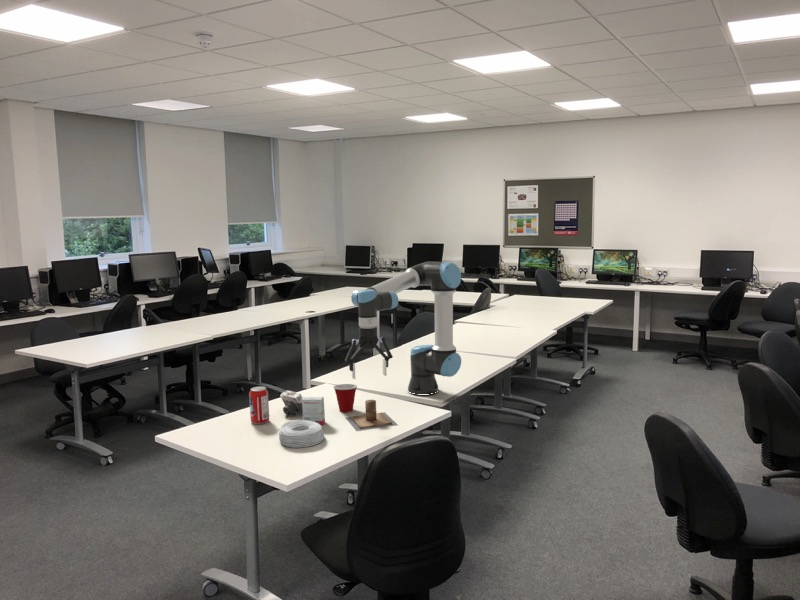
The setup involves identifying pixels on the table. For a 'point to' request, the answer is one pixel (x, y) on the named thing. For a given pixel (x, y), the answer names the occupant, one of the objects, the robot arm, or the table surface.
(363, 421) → the lid
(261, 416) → the soda can
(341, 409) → the plastic cup
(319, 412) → the ink box
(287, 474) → the table surface
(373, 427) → the mat
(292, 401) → the camera
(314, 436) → the cable
